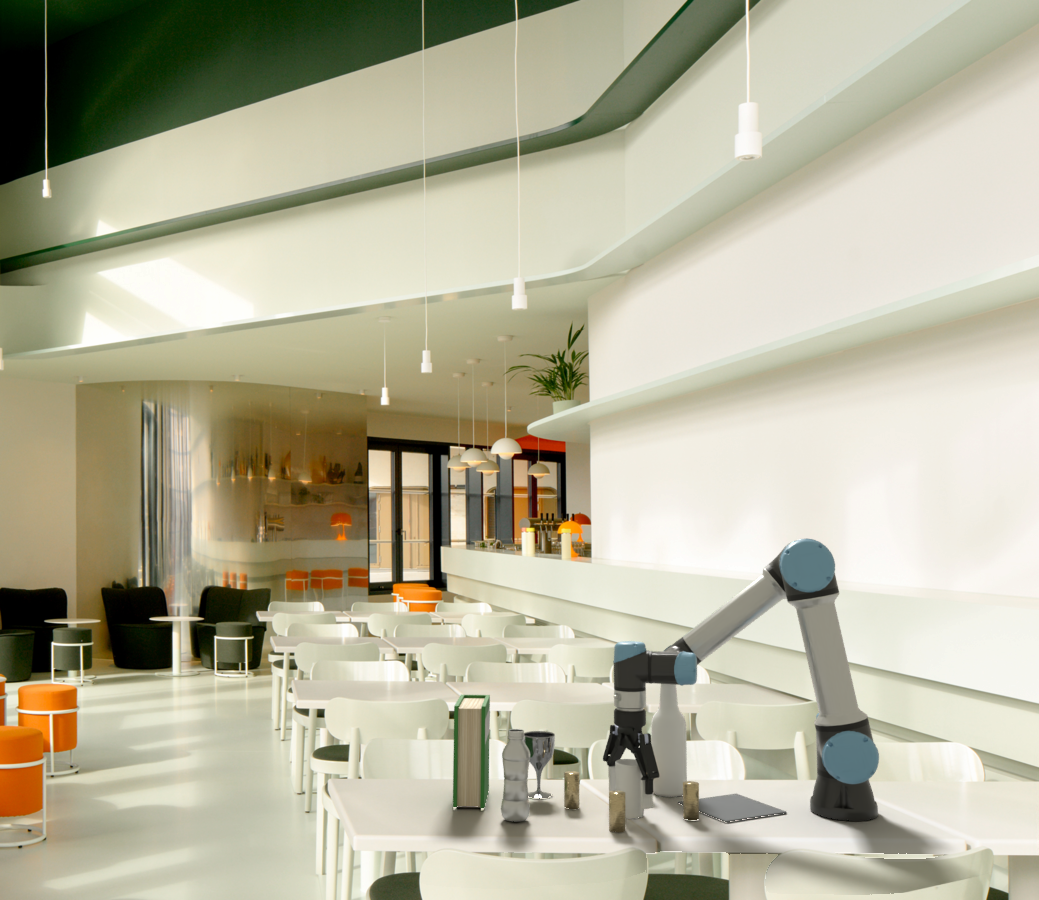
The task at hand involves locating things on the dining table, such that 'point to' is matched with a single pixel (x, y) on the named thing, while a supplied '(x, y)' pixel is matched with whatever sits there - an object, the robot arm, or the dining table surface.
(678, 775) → the alcohol
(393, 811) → the dining table surface
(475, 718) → the hardback book
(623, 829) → the spacer posts
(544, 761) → the wine glass
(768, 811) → the mat
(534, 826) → the dining table surface
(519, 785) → the plastic bottle
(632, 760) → the mug
